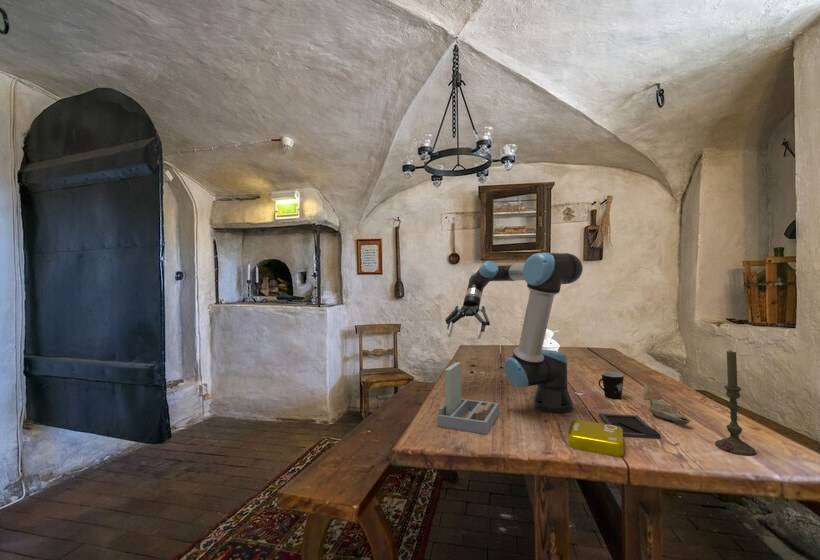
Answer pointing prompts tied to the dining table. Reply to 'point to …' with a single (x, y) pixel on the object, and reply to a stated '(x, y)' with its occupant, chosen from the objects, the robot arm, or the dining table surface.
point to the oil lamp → (662, 407)
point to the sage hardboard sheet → (453, 388)
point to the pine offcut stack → (482, 412)
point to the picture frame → (631, 425)
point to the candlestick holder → (733, 413)
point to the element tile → (596, 438)
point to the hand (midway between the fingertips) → (463, 336)
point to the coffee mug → (612, 384)
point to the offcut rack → (468, 417)
